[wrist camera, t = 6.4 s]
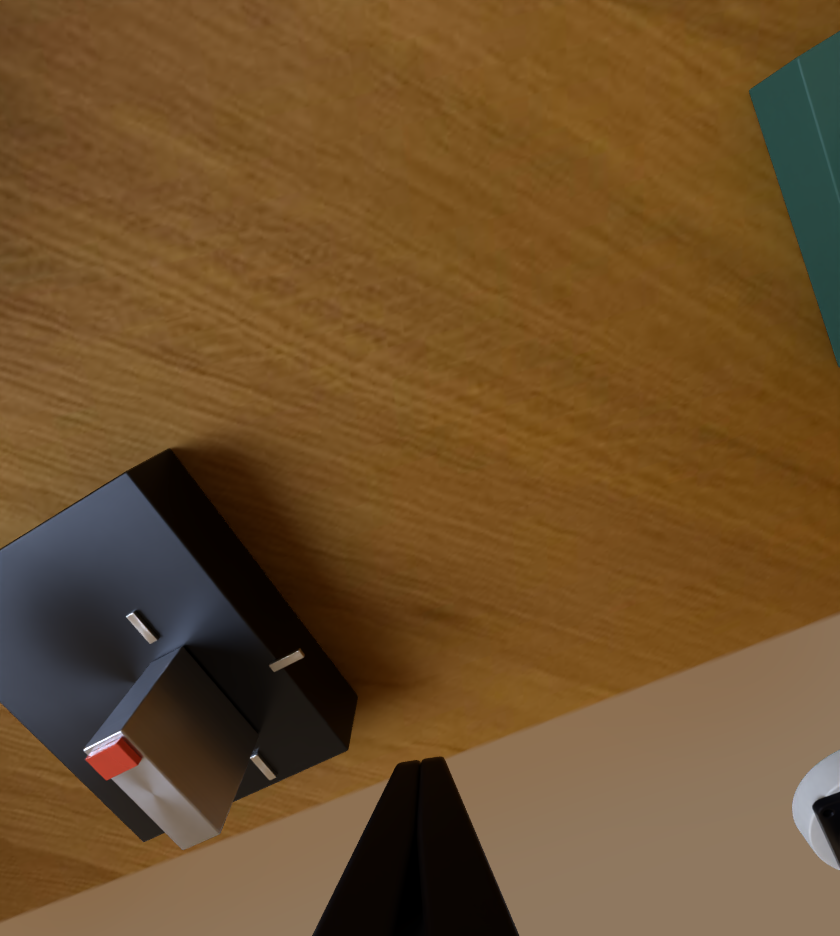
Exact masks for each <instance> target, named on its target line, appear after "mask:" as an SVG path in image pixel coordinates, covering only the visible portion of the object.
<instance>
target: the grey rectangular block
mask: <svg viewBox="0 0 840 936" xmlns="http://www.w3.org/2000/svg"><path fill="white" fill-rule="evenodd" d="M258 737H259V735H258V734H257V732H256V731H255V730H254V729H253V728H252V727H251V725H250V724H249V723H248V722H247V721H246V720H245V718H244V717H243V716H242V715H241V714H240V713H239V711H238V710H237V709H236V708H235V707H234V706H233V704H232V703H231V702H230V701H229V700H228V699H227V697H226V696H225V695H224V694H223V693H222V691H221V690H220V689H219V688H218V687H217V686H216V684H215V683H214V682H213V681H212V680H211V679H210V677H209V676H208V675H207V674H206V673H205V672H204V670H203V669H202V668H201V667H200V666H199V665H198V663H197V662H196V661H195V660H194V659H193V658H192V656H191V655H190V654H189V653H188V652H187V651H186V649H185V648H184V647H180V648H178V649H176V650H174V651H173V652H171V653H169V654H167V655H165V656H163V657H161V658H159V659H157V660H155V661H154V662H152V663H151V664H150V665H149V666H148V667H147V669H146V670H145V671H144V672H143V674H142V675H141V676H140V678H139V679H138V680H137V681H136V683H135V684H134V685H133V686H132V688H131V689H130V690H129V692H128V693H127V694H126V695H125V697H124V698H123V699H122V701H121V702H120V703H119V704H118V706H117V707H116V708H115V709H114V711H113V712H112V713H111V715H110V716H109V717H108V718H107V720H106V721H105V722H104V723H103V725H102V726H101V727H100V729H99V730H98V731H97V732H96V734H95V735H94V736H93V737H92V739H91V740H90V741H89V743H88V744H87V745H86V746H85V748H84V749H83V750H84V752H85V753H86V754H87V755H88V756H87V757H86V759H85V760H86V761H87V762H88V763H89V764H90V765H91V766H92V767H93V768H94V769H95V770H96V771H97V772H98V773H99V774H100V775H101V776H102V777H103V778H104V779H105V780H109V779H112V780H113V781H114V782H115V783H116V784H117V785H118V786H119V787H120V788H121V789H122V790H123V791H124V792H125V793H126V794H127V795H128V796H129V797H130V798H131V799H132V800H133V801H134V802H135V803H136V804H137V805H138V806H139V807H140V808H141V809H142V810H143V811H144V812H145V813H146V814H147V815H148V816H149V817H150V818H151V819H152V820H153V821H154V822H155V823H156V824H157V825H158V826H159V827H160V828H161V829H162V830H163V831H164V832H165V833H166V834H167V835H168V836H169V837H170V838H171V839H172V840H173V841H174V842H175V843H176V844H177V845H178V846H179V847H180V848H181V849H182V850H185V849H187V848H189V847H191V846H194V845H196V844H198V843H201V842H203V841H205V840H207V839H210V838H212V837H214V836H217V835H219V834H220V833H221V830H222V828H223V825H224V823H225V820H226V818H227V815H228V813H229V810H230V808H231V805H232V803H233V800H234V797H235V795H236V792H237V790H238V787H239V785H240V782H241V780H242V777H243V775H244V772H245V770H246V767H247V765H248V762H249V760H250V757H251V755H252V752H253V750H254V747H255V745H256V742H257V740H258Z"/></svg>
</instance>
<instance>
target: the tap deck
mask: <svg viewBox="0 0 840 936" xmlns="http://www.w3.org/2000/svg"><path fill="white" fill-rule="evenodd" d="M180 647H184V648H185V649H186V651H187V652H188V653H189V654H190V655H191V656H192V658H193V659H194V660H195V661H196V662H197V663H198V665H199V666H200V667H201V668H202V669H203V670H204V672H205V673H206V674H207V675H208V676H209V677H210V679H211V680H212V681H213V682H214V683H215V684H216V686H217V687H218V688H219V689H220V690H221V691H222V693H223V694H224V695H225V696H226V697H227V699H228V700H229V701H230V702H231V703H232V704H233V706H234V707H235V708H236V709H237V710H238V711H239V713H240V714H241V715H242V716H243V717H244V718H245V720H246V721H247V722H248V723H249V724H250V725H251V727H252V728H253V729H254V730H255V731H256V732H257V734H258V735H259V737H258V740H257V742H256V745H255V747H254V750H253V752H252V755H251V757H250V760H249V762H248V765H247V767H246V770H245V772H244V775H243V777H242V780H241V782H240V785H239V787H238V790H237V792H236V795H235V797H234V800H233V802H234V801H237V800H239V799H241V798H243V797H245V796H248V795H250V794H252V793H254V792H257V791H259V790H261V789H263V788H265V787H268V786H270V785H272V784H274V783H277V782H279V781H281V780H283V779H285V778H288V777H290V776H292V775H294V774H297V773H299V772H301V771H303V770H305V769H308V768H310V767H312V766H314V765H317V764H319V763H321V762H323V761H325V760H328V759H330V758H332V757H334V756H337V755H339V754H341V753H343V752H345V751H347V750H348V749H349V743H350V738H351V732H352V727H353V721H354V716H355V710H356V705H357V699H358V696H357V695H356V693H355V692H354V691H353V689H352V688H351V687H350V685H349V684H348V683H347V682H346V680H345V679H344V678H343V676H342V675H341V674H340V672H339V671H338V670H337V668H336V667H335V666H334V664H333V663H332V662H331V660H330V659H329V658H328V656H327V655H326V654H325V652H324V651H323V650H322V649H321V647H320V646H319V645H318V643H317V642H316V641H315V639H314V638H313V637H312V635H311V634H310V633H309V631H308V630H307V629H306V627H305V626H304V625H303V623H302V622H301V621H300V619H299V618H298V617H297V616H296V614H295V613H294V612H293V610H292V609H291V608H290V606H289V605H288V604H287V602H286V601H285V600H284V598H283V597H282V596H281V594H280V593H279V592H278V590H277V589H276V588H275V586H274V585H273V584H272V583H271V581H270V580H269V579H268V577H267V576H266V575H265V573H264V572H263V571H262V569H261V568H260V567H259V565H258V564H257V563H256V561H255V560H254V559H253V557H252V556H251V555H250V553H249V552H248V551H247V550H246V548H245V547H244V546H243V544H242V543H241V542H240V540H239V539H238V538H237V536H236V535H235V534H234V532H233V531H232V530H231V528H230V527H229V526H228V524H227V523H226V522H225V520H224V519H223V518H222V517H221V515H220V514H219V513H218V511H217V510H216V509H215V507H214V506H213V505H212V503H211V502H210V501H209V499H208V498H207V497H206V495H205V494H204V493H203V491H202V490H201V489H200V487H199V486H198V485H197V484H196V482H195V481H194V480H193V478H192V477H191V476H190V474H189V473H188V472H187V470H186V469H185V468H184V466H183V465H182V464H181V462H180V461H179V460H178V458H177V457H176V456H175V454H174V453H173V452H172V450H171V449H167V450H165V451H163V452H161V453H159V454H157V455H155V456H154V457H152V458H150V459H148V460H146V461H144V462H142V463H141V464H139V465H137V466H135V467H133V468H131V469H129V470H128V471H126V472H124V473H122V474H121V475H119V476H118V477H116V478H114V479H113V480H111V481H110V482H108V483H106V484H105V485H103V486H101V487H100V488H98V489H97V490H95V491H93V492H92V493H90V494H89V495H87V496H85V497H84V498H82V499H80V500H79V501H77V502H76V503H74V504H72V505H71V506H69V507H68V508H66V509H64V510H63V511H61V512H59V513H58V514H56V515H55V516H53V517H51V518H50V519H48V520H47V521H45V522H43V523H42V524H40V525H38V526H37V527H35V528H34V529H32V530H30V531H29V532H27V533H26V534H24V535H22V536H21V537H19V538H17V539H16V540H14V541H13V542H11V543H9V544H8V545H6V546H5V547H3V548H1V549H0V703H1V704H3V705H4V706H5V707H6V708H7V709H8V710H9V711H10V712H11V713H12V714H13V715H14V716H15V717H16V718H17V719H18V720H19V721H20V722H21V723H22V724H23V725H24V726H25V727H26V728H27V729H28V730H29V731H30V732H31V733H32V734H33V735H34V736H35V737H36V738H37V739H38V740H39V741H40V742H41V743H42V744H44V745H45V746H46V747H47V748H48V749H49V750H50V751H51V752H52V753H53V754H54V755H55V756H56V757H57V758H58V759H59V760H60V761H61V762H62V763H63V764H64V765H65V766H66V767H67V768H68V769H69V770H70V771H71V772H72V773H73V774H74V775H75V776H76V777H77V778H78V779H79V780H80V781H81V782H82V783H83V784H85V785H86V786H87V787H88V788H89V789H90V790H91V791H92V792H93V793H94V794H95V795H96V796H97V797H98V798H99V799H100V800H101V801H102V802H103V803H104V804H105V805H106V806H107V807H108V808H109V809H110V810H111V811H112V812H113V813H114V814H115V815H116V816H117V817H118V818H119V819H120V820H121V821H122V822H123V823H124V824H126V825H127V826H128V827H129V828H130V829H131V830H132V831H133V832H134V833H135V834H136V835H137V836H138V837H139V838H140V839H141V840H142V841H143V842H145V841H148V840H150V839H152V838H154V837H156V836H159V835H161V834H163V833H165V832H164V831H163V830H162V829H161V828H160V827H159V826H158V825H157V824H156V823H155V822H154V821H153V820H152V819H151V818H150V817H149V816H148V815H147V814H146V813H145V812H144V811H143V810H142V809H141V808H140V807H139V806H138V805H137V804H136V803H135V802H134V801H133V800H132V799H131V798H130V797H129V796H128V795H127V794H126V793H125V792H124V791H123V790H122V789H121V788H120V787H119V786H118V785H117V784H116V783H115V782H114V781H113V780H112V779H109V780H105V779H104V778H103V777H102V776H101V775H100V774H99V773H98V772H97V771H96V770H95V769H94V768H93V767H92V766H91V765H90V764H89V763H88V762H87V761H86V760H85V759H86V757H87V756H88V755H87V754H86V753H85V752H84V750H83V749H84V748H85V746H86V745H87V744H88V743H89V741H90V740H91V739H92V737H93V736H94V735H95V734H96V732H97V731H98V730H99V729H100V727H101V726H102V725H103V723H104V722H105V721H106V720H107V718H108V717H109V716H110V715H111V713H112V712H113V711H114V709H115V708H116V707H117V706H118V704H119V703H120V702H121V701H122V699H123V698H124V697H125V695H126V694H127V693H128V692H129V690H130V689H131V688H132V686H133V685H134V684H135V683H136V681H137V680H138V679H139V678H140V676H141V675H142V674H143V672H144V671H145V670H146V669H147V667H148V666H149V665H150V664H151V663H152V662H154V661H155V660H157V659H159V658H161V657H163V656H165V655H167V654H169V653H171V652H173V651H174V650H176V649H178V648H180Z"/></svg>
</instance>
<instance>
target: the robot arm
mask: <svg viewBox="0 0 840 936" xmlns="http://www.w3.org/2000/svg"><path fill="white" fill-rule="evenodd" d="M812 809H813V812H814V814H815V816H816V818H817V820H818V822H819V825H820V827H821V829H822V831H823V833H824V835H825V838H826V840H827V842H828V844H829V846H830V848H831V851H832V853H833V855H834V857H835V859H836V861H837V864H838V866H839V868H840V792H838V793H835V794H832V795H829V796H827V797H824V798H821V799H819V800H817V801H815V802H814V803H813V805H812ZM312 936H519V934H518V931H517V929H516V927H515V924H514V922H513V920H512V917H511V915H510V912H509V910H508V908H507V905H506V903H505V901H504V898H503V896H502V894H501V891H500V889H499V886H498V884H497V882H496V880H495V877H494V875H493V872H492V870H491V868H490V865H489V863H488V860H487V858H486V856H485V853H484V851H483V849H482V847H481V844H480V842H479V839H478V837H477V834H476V832H475V830H474V828H473V825H472V823H471V820H470V818H469V815H468V813H467V811H466V808H465V806H464V804H463V801H462V799H461V797H460V794H459V792H458V789H457V787H456V785H455V783H454V780H453V778H452V775H451V773H450V771H449V768H448V766H447V763H446V761H445V759H444V758H443V757H433V758H427V759H423V760H422V762H420V761H418V760H413V761H407V762H401V763H399V764H397V766H396V767H395V769H394V771H393V773H392V775H391V777H390V779H389V781H388V783H387V786H386V787H385V789H384V791H383V793H382V796H381V797H380V800H379V801H378V803H377V805H376V807H375V810H374V811H373V814H372V816H371V818H370V820H369V822H368V824H367V826H366V828H365V830H364V832H363V834H362V836H361V838H360V840H359V842H358V844H357V846H356V848H355V850H354V852H353V854H352V856H351V858H350V860H349V862H348V864H347V866H346V868H345V870H344V872H343V874H342V877H341V878H340V880H339V883H338V885H337V886H336V888H335V890H334V893H333V895H332V897H331V899H330V901H329V903H328V905H327V907H326V909H325V911H324V913H323V915H322V917H321V919H320V921H319V923H318V925H317V927H316V929H315V931H314V933H313V935H312Z"/></svg>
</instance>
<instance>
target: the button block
mask: <svg viewBox="0 0 840 936" xmlns="http://www.w3.org/2000/svg"><path fill="white" fill-rule="evenodd" d="M749 93H750V96H751V99H752V102H753V105H754V108H755V111H756V114H757V118H758V121H759V124H760V127H761V130H762V133H763V136H764V139H765V142H766V145H767V148H768V151H769V154H770V158H771V161H772V164H773V167H774V170H775V173H776V176H777V179H778V182H779V185H780V188H781V191H782V194H783V198H784V201H785V204H786V207H787V210H788V213H789V216H790V219H791V222H792V225H793V228H794V231H795V234H796V238H797V241H798V244H799V247H800V250H801V253H802V256H803V259H804V262H805V265H806V268H807V271H808V274H809V278H810V281H811V284H812V287H813V290H814V293H815V296H816V299H817V302H818V305H819V308H820V311H821V314H822V318H823V321H824V324H825V327H826V330H827V333H828V336H829V339H830V342H831V345H832V348H833V351H834V354H835V358H836V361H837V364H838V366H839V367H840V31H839V32H837V33H836V34H834V35H832V36H831V37H829V38H827V39H826V40H824V41H823V42H821V43H819V44H818V45H816V46H815V47H813V48H811V49H810V50H808V51H806V52H805V53H803V54H802V55H800V56H798V57H797V58H795V59H794V60H792V61H791V62H789V63H788V64H787V65H785V66H784V67H782V68H781V69H779V70H778V71H776V72H775V73H773V74H772V75H770V76H769V77H767V78H766V79H765V80H763V81H762V82H760V83H759V84H757V85H756V86H754V87H753V88H751V89H750V90H749Z"/></svg>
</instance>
